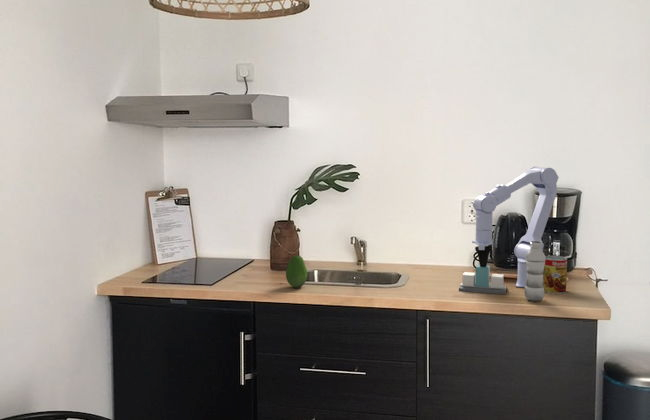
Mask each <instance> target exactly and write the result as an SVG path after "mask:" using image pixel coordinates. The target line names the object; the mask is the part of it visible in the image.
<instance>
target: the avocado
mask: <svg viewBox="0 0 650 420" xmlns="http://www.w3.org/2000/svg"><path fill="white" fill-rule="evenodd" d="M307 277H308V270H307V266H306V264H305V261H304V259H303V257H302V256H301V255H294V256H293V257H292V258H291V259H290V261H288V265H287V268H286V270H285V279H286V280H287V282H288V284H289V285H290V286H291V287H293V288H296V289H297V288H301V287H303V286H304V285H305V283H306V282H307Z"/></svg>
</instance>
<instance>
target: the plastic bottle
mask: <svg viewBox="0 0 650 420" xmlns="http://www.w3.org/2000/svg"><path fill="white" fill-rule="evenodd" d="M542 242H543V241H542ZM542 242H540V241H531V242H530V247H531V249H530V250H529V252H528V253H527V255H526V266H527V280H526V286H525V287H524V297H525V299H526V300H529V301H532V302H540V301H543V300H544V298H545V294H546V292H545V291H544V285H543V273H544V266H545V260H546V258H545V256H546V255H545V252H544V251H542V250H541V248H542Z"/></svg>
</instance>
